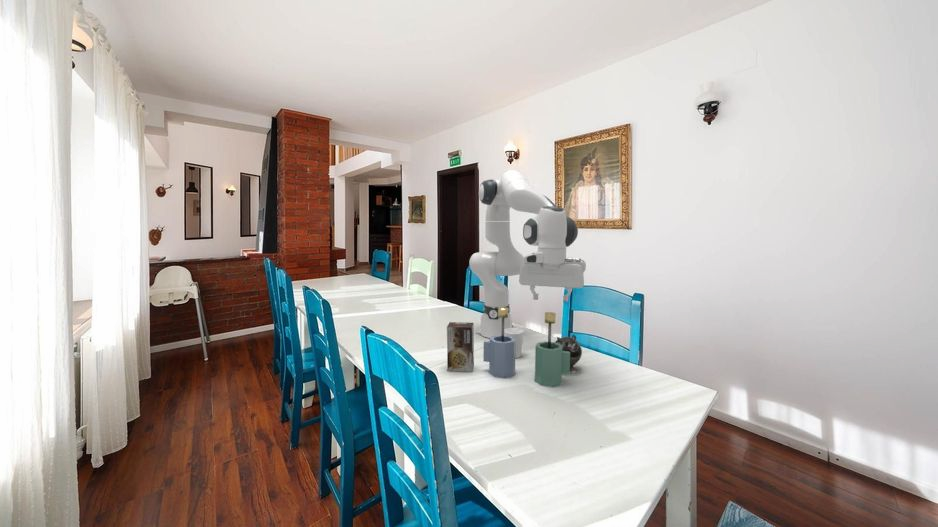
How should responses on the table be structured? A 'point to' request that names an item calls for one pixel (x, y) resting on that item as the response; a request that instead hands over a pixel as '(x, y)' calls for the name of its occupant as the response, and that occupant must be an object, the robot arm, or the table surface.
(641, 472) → the table surface
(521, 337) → the white cup
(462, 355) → the coffee box
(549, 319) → the shiny brass cylinder
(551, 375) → the green mug
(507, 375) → the blue pot
